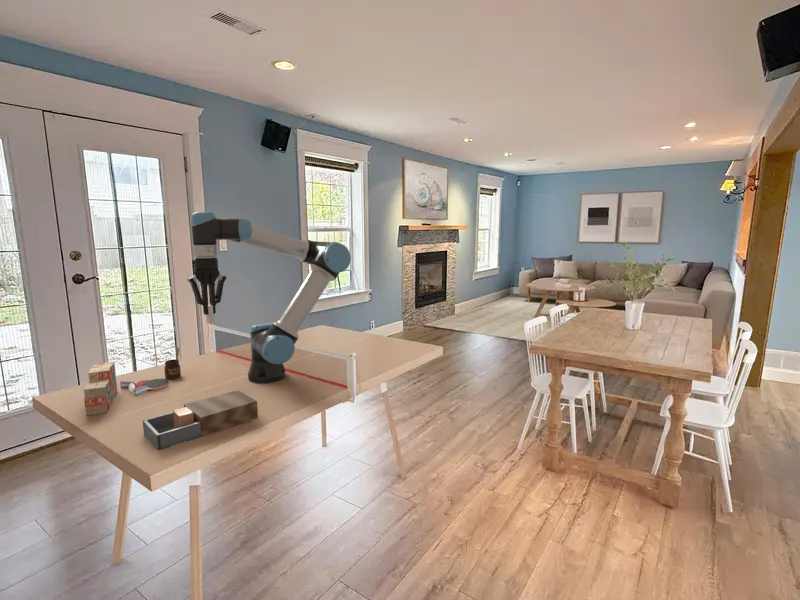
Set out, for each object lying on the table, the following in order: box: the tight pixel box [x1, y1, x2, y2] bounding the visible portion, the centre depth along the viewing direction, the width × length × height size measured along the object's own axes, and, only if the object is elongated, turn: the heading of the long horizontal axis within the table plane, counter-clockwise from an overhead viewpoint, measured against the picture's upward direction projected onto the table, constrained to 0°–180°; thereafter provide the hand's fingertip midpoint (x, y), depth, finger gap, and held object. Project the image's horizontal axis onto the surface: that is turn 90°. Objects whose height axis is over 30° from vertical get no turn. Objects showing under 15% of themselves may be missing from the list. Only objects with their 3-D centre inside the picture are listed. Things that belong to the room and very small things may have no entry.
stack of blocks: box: [83, 361, 118, 416], centre depth 155 cm, size 21×6×12 cm, turn 25°
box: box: [142, 411, 202, 451], centre depth 131 cm, size 12×14×4 cm
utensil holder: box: [164, 347, 182, 380], centre depth 182 cm, size 6×6×12 cm
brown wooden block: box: [183, 389, 259, 437], centre depth 141 cm, size 18×14×6 cm
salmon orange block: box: [172, 406, 194, 429], centre depth 133 cm, size 6×6×4 cm
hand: (210, 323), depth 155 cm, fingers closed
